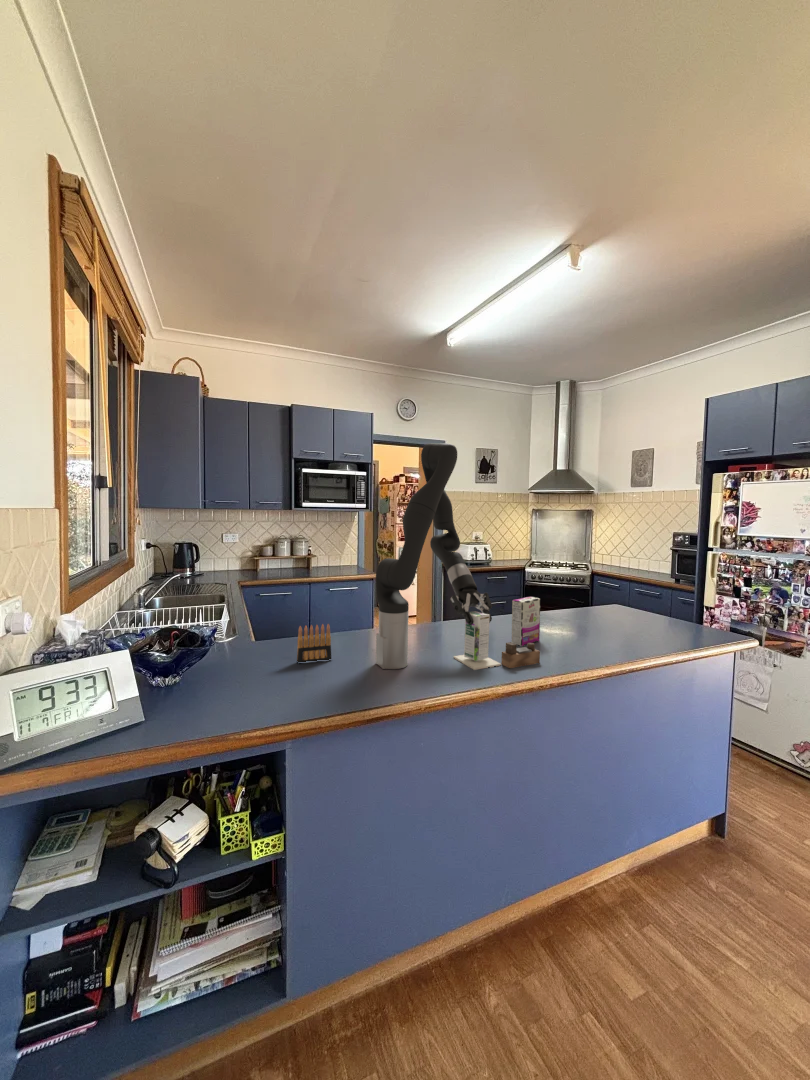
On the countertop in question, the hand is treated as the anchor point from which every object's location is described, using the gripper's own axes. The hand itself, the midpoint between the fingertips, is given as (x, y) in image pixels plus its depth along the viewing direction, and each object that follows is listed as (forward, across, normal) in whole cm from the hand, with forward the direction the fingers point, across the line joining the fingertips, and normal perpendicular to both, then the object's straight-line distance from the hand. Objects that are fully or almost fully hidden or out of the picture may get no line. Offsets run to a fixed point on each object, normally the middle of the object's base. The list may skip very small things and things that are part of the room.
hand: (480, 622), depth 142 cm
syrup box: (+7, 0, +10) cm, 12 cm away
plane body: (+13, +12, +5) cm, 19 cm away
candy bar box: (+1, +29, +18) cm, 34 cm away
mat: (+8, 0, +10) cm, 13 cm away
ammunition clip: (-6, -48, +25) cm, 54 cm away
